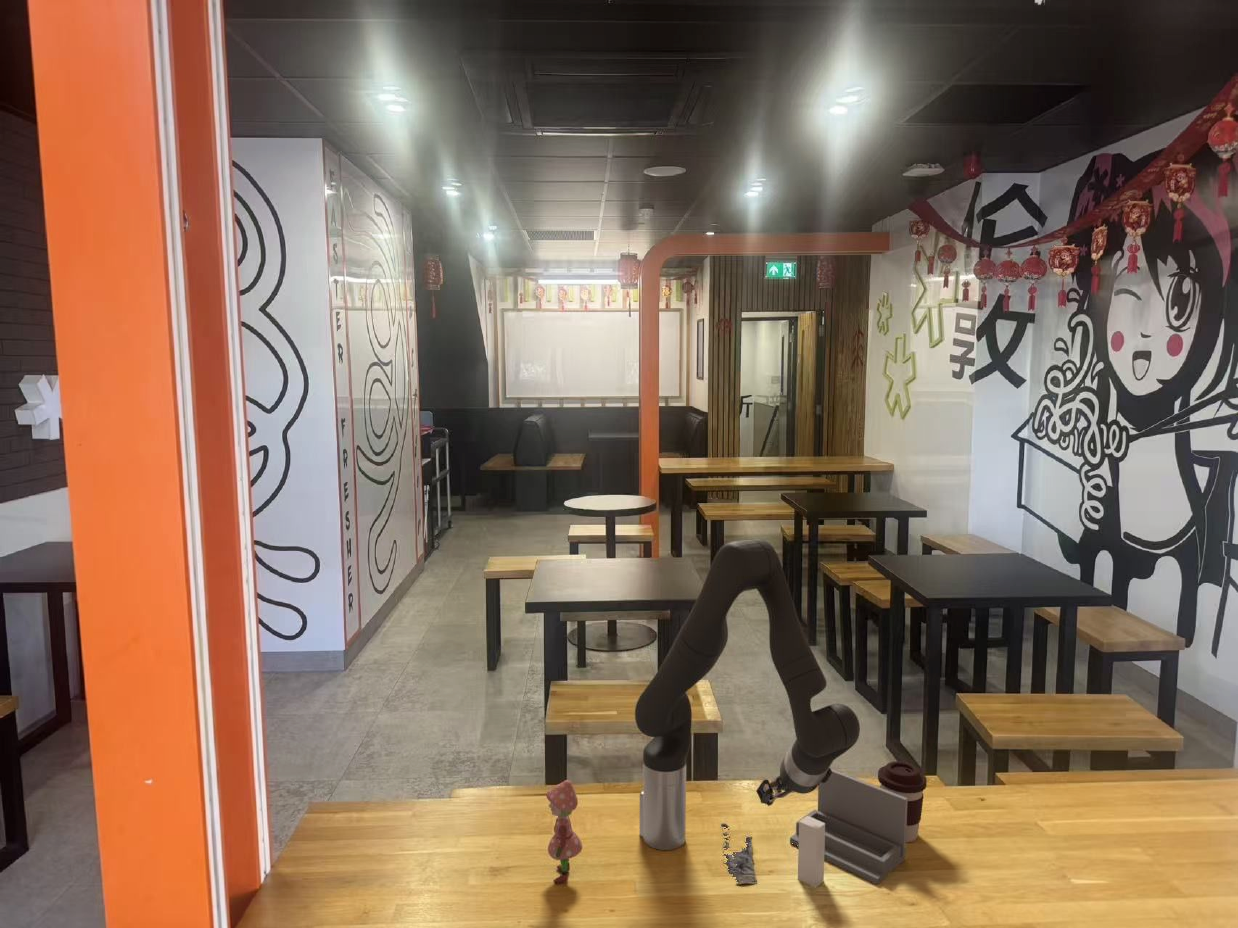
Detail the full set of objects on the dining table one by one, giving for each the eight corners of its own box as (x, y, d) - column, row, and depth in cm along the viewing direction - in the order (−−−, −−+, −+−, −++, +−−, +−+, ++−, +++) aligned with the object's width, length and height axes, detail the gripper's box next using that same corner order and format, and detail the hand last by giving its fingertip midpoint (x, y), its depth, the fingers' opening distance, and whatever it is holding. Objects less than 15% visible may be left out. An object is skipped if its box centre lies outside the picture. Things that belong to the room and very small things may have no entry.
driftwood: (757, 890, 152) (757, 880, 152) (722, 887, 153) (722, 877, 153) (752, 832, 173) (752, 822, 172) (721, 830, 173) (721, 820, 173)
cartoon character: (579, 893, 150) (578, 794, 148) (542, 891, 151) (542, 792, 149) (585, 861, 160) (584, 768, 158) (550, 860, 161) (550, 767, 159)
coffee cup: (874, 841, 168) (876, 774, 166) (877, 817, 177) (879, 754, 175) (923, 851, 164) (926, 783, 163) (924, 826, 173) (927, 762, 172)
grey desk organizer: (789, 842, 167) (791, 783, 166) (819, 821, 175) (821, 764, 174) (877, 884, 153) (879, 820, 152) (905, 858, 161) (907, 798, 160)
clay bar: (797, 878, 155) (799, 821, 154) (805, 872, 157) (807, 815, 156) (815, 887, 152) (817, 829, 151) (823, 881, 154) (825, 823, 153)
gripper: (829, 734, 147) (809, 765, 160) (761, 756, 144) (746, 786, 156) (849, 773, 143) (827, 801, 155) (779, 797, 139) (762, 824, 152)
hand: (786, 794), depth 156 cm, fingers open, 8 cm apart
